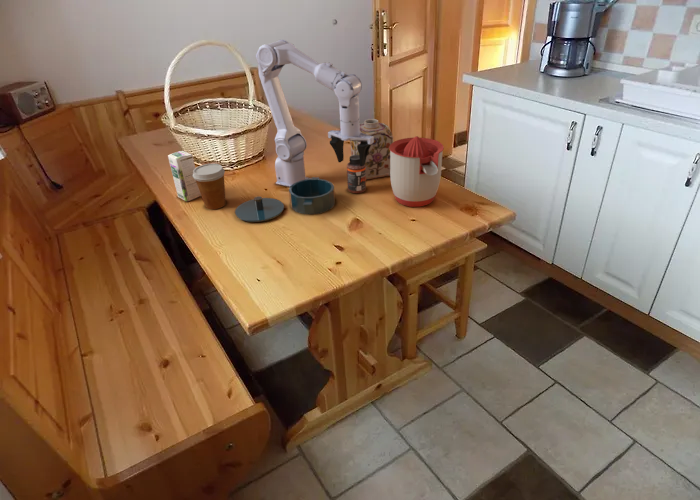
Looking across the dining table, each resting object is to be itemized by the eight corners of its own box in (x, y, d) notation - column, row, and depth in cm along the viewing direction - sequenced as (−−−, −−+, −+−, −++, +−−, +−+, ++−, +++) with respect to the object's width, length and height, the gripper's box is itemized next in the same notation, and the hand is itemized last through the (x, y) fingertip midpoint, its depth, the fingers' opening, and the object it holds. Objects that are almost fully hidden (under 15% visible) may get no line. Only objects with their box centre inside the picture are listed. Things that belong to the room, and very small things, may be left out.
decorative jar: (381, 163, 171) (381, 113, 161) (394, 175, 161) (394, 123, 152) (350, 168, 168) (348, 118, 158) (361, 181, 158) (359, 128, 149)
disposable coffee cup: (193, 209, 146) (184, 173, 140) (212, 196, 154) (204, 161, 147) (219, 213, 143) (211, 177, 137) (236, 200, 151) (230, 164, 144)
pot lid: (229, 224, 138) (227, 209, 135) (242, 201, 150) (240, 187, 147) (279, 223, 136) (277, 209, 134) (288, 200, 149) (286, 187, 146)
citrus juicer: (407, 218, 136) (409, 152, 125) (380, 194, 149) (379, 133, 139) (453, 206, 141) (459, 141, 130) (423, 184, 154) (426, 124, 144)
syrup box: (177, 197, 154) (166, 155, 146) (193, 191, 158) (183, 149, 150) (186, 202, 151) (175, 159, 143) (202, 195, 154) (192, 153, 147)
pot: (285, 219, 139) (283, 202, 136) (296, 190, 155) (294, 175, 152) (331, 218, 138) (330, 202, 135) (337, 190, 154) (336, 174, 151)
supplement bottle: (364, 194, 150) (363, 161, 144) (346, 193, 151) (344, 160, 145) (367, 186, 155) (366, 153, 149) (349, 185, 156) (348, 153, 150)
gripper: (321, 120, 138) (324, 164, 145) (365, 126, 132) (366, 171, 139) (333, 113, 143) (336, 156, 151) (376, 119, 137) (377, 163, 144)
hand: (351, 163), depth 145 cm, fingers open, 7 cm apart
